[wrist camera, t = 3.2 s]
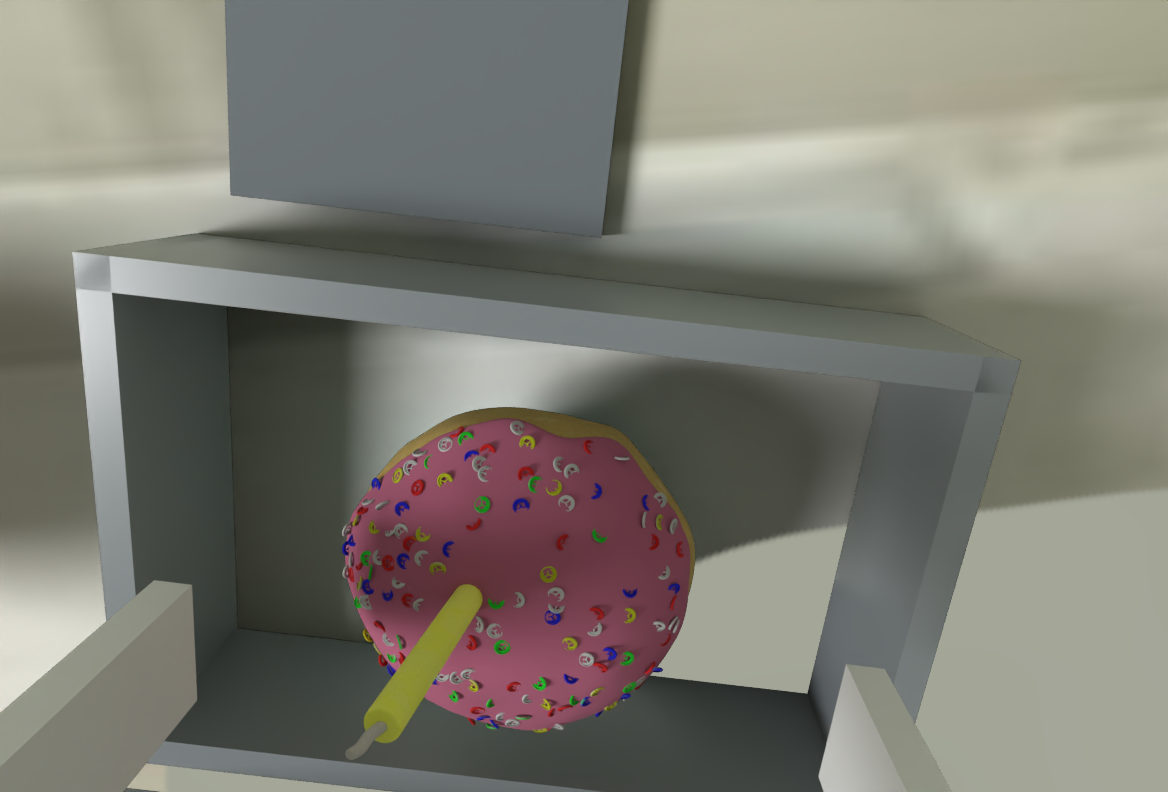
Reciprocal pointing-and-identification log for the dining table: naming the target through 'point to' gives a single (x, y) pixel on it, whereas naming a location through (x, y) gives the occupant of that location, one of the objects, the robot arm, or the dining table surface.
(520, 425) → the cupcake
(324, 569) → the dining table surface
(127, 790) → the lid
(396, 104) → the mat
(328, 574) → the dining table surface
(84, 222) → the dining table surface
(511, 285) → the case
